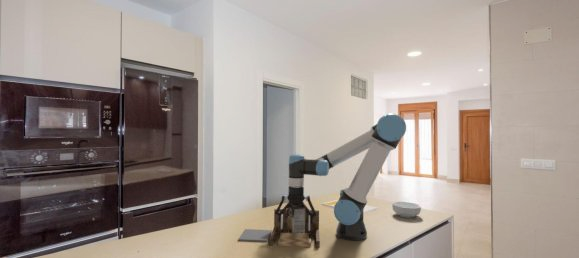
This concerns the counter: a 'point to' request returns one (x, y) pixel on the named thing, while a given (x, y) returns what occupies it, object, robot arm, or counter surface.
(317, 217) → the walnut rack
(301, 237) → the upper offcut
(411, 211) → the cereal bowl
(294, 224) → the coffee box
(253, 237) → the slate mat
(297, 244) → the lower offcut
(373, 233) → the counter surface
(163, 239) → the counter surface
